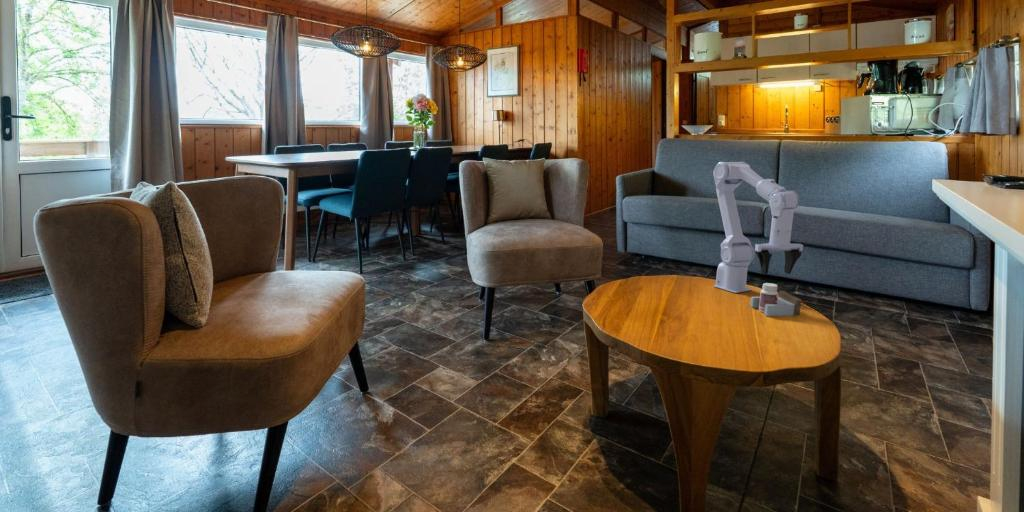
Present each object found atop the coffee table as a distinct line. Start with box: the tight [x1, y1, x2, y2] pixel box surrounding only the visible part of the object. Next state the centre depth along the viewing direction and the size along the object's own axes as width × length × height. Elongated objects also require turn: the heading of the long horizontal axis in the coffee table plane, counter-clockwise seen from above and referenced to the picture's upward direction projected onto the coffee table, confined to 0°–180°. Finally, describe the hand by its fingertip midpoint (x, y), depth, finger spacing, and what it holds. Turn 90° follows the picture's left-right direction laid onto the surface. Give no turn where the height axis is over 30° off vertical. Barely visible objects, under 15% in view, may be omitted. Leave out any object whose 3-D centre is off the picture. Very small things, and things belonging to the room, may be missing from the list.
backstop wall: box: [778, 290, 803, 317], centre depth 162 cm, size 2×9×5 cm, turn 6°
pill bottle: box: [758, 282, 779, 314], centre depth 161 cm, size 5×5×8 cm
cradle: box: [749, 296, 795, 317], centre depth 162 cm, size 8×9×3 cm
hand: (775, 273), depth 167 cm, fingers open, 7 cm apart
